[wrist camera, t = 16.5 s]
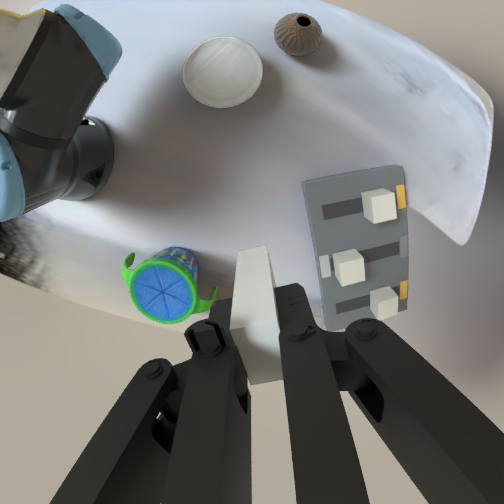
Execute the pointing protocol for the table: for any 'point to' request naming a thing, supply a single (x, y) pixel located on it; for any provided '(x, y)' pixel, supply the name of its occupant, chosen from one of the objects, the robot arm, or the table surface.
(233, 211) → the table surface
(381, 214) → the knob near
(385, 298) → the knob far
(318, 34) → the vase
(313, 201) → the switch panel
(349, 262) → the knob mid
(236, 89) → the ramekin
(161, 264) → the snack cup
